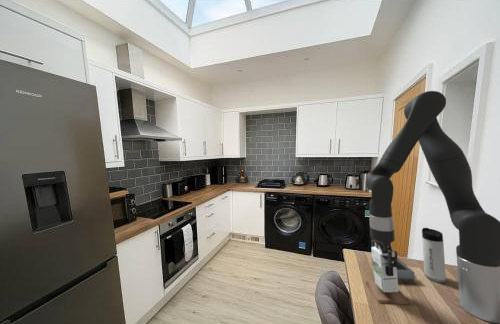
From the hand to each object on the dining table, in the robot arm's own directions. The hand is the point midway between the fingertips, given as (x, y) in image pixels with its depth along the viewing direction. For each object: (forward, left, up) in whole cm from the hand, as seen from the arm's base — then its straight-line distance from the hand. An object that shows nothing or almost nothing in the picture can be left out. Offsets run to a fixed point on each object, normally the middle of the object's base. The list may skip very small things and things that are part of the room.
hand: (384, 269), depth 69 cm
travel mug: (-24, -11, -9) cm, 28 cm away
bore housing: (-9, -13, -9) cm, 18 cm away
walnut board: (0, 0, -9) cm, 9 cm away
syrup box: (0, 0, -7) cm, 7 cm away
